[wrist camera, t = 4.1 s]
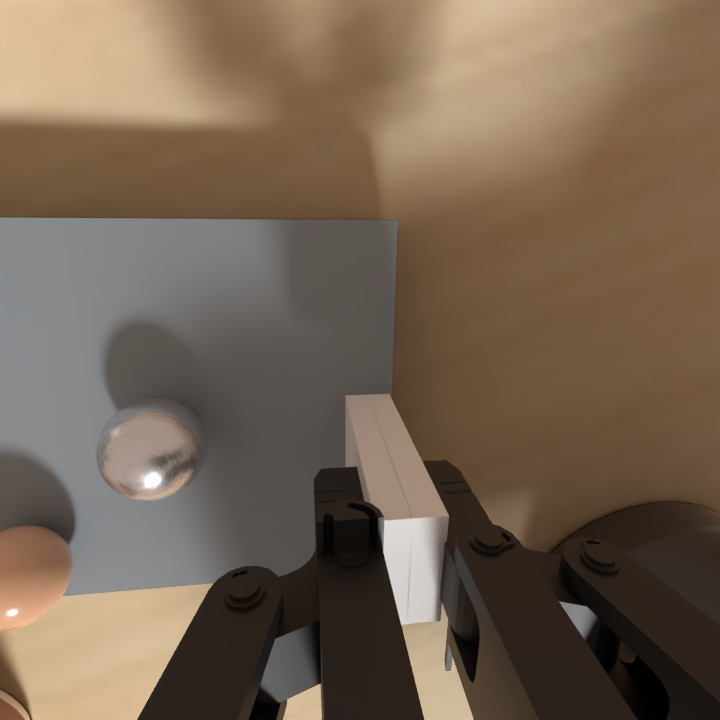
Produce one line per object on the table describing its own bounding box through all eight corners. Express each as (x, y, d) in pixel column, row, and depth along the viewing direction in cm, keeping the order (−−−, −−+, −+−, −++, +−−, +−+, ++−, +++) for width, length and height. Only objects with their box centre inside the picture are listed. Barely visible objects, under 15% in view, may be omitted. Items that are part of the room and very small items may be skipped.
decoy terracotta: (80, 503, 16) (29, 568, 13) (96, 574, 17) (51, 650, 14) (-15, 509, 16) (-91, 578, 13) (6, 581, 17) (-60, 661, 14)
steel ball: (211, 382, 15) (188, 422, 12) (219, 463, 16) (200, 519, 13) (113, 385, 15) (65, 427, 12) (127, 468, 16) (86, 527, 13)
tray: (382, 219, 17) (407, 220, 13) (375, 522, 22) (393, 596, 17) (-415, 214, 14) (-720, 212, 10) (-241, 567, 19) (-402, 671, 14)
